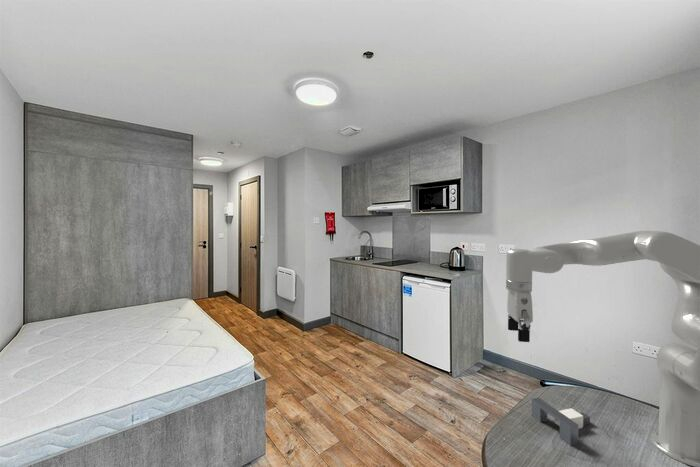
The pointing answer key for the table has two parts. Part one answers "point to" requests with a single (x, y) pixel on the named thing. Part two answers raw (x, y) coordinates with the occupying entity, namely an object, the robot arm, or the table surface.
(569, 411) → the plug
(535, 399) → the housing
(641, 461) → the table surface
